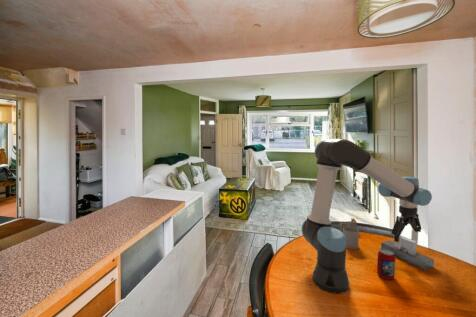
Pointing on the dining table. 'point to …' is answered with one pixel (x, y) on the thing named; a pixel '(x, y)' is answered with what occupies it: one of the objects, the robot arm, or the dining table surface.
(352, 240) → the cup
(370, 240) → the dining table surface
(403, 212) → the robot arm
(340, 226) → the ruin model on sheet
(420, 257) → the block with rectangular holes
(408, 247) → the upright white panel
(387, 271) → the beverage can
